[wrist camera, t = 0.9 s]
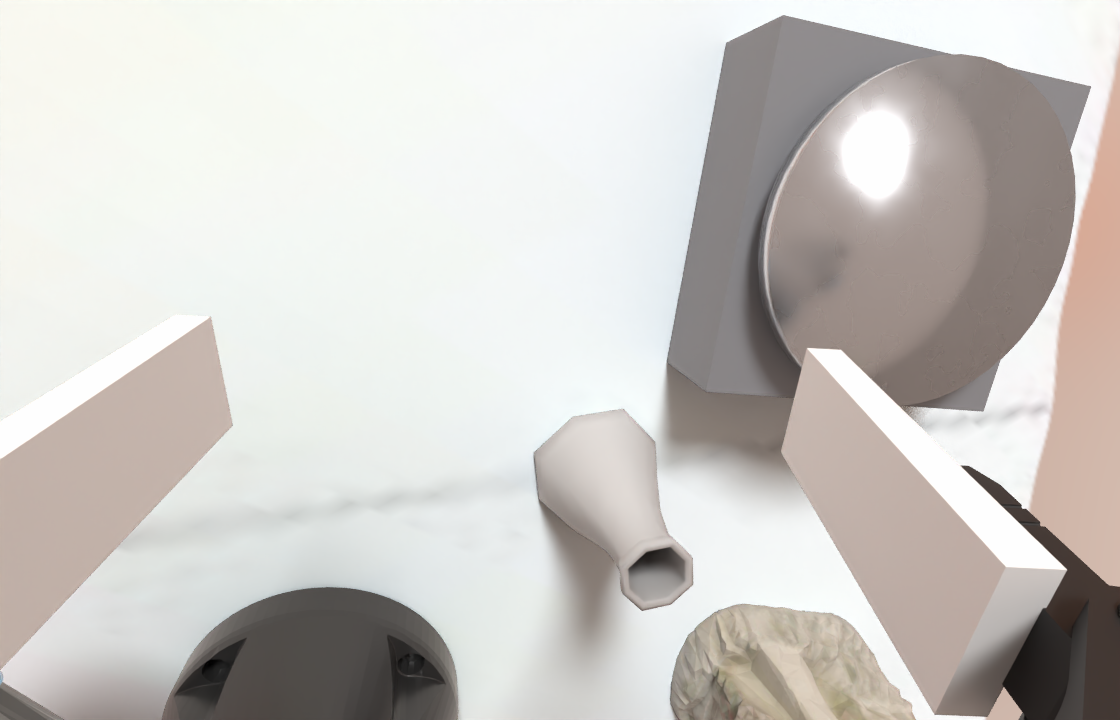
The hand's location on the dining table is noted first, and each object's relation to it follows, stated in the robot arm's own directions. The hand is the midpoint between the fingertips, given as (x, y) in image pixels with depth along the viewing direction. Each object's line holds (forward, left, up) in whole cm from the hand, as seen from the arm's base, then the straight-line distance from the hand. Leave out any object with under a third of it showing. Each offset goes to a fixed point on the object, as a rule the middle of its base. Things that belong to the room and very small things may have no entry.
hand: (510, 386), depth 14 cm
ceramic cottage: (-27, -23, -17) cm, 39 cm away
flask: (-10, -8, -17) cm, 21 cm away
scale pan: (+5, -19, -11) cm, 22 cm away
